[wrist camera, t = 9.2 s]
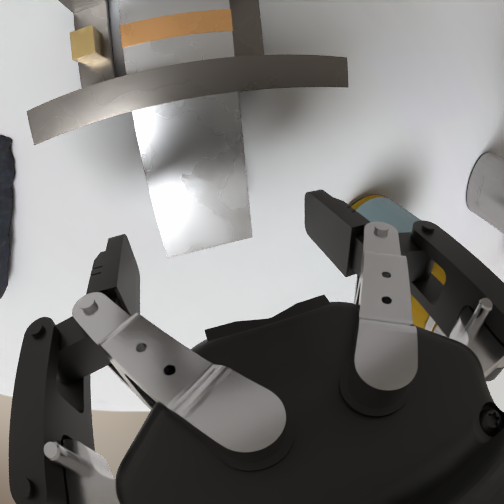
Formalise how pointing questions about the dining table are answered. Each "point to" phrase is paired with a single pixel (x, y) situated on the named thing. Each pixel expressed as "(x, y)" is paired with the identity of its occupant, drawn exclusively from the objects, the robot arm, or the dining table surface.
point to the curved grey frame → (171, 72)
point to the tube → (188, 126)
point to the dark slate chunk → (5, 208)
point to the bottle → (403, 222)
